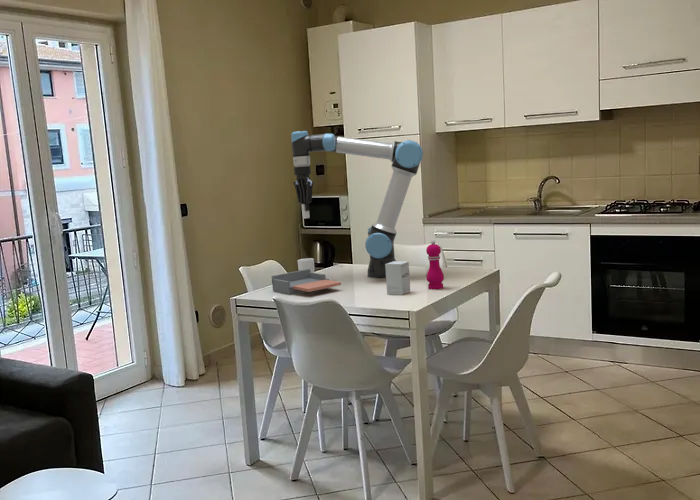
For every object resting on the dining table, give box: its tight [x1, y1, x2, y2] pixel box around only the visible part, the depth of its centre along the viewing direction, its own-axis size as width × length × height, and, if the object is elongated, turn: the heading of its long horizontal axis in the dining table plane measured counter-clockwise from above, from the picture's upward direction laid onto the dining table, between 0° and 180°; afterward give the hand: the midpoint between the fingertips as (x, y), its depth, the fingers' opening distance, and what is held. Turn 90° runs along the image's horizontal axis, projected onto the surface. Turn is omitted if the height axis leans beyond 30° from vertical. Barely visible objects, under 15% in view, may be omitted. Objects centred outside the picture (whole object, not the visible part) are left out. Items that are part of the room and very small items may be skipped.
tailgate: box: [293, 279, 342, 293], centre depth 301 cm, size 2×17×12 cm
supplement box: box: [385, 260, 411, 296], centre depth 286 cm, size 7×7×13 cm
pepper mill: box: [426, 239, 445, 290], centre depth 290 cm, size 7×7×20 cm
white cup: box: [296, 257, 315, 273], centre depth 333 cm, size 8×8×10 cm
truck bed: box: [271, 269, 330, 296], centre depth 311 cm, size 15×21×7 cm
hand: (306, 218), depth 319 cm, fingers closed
